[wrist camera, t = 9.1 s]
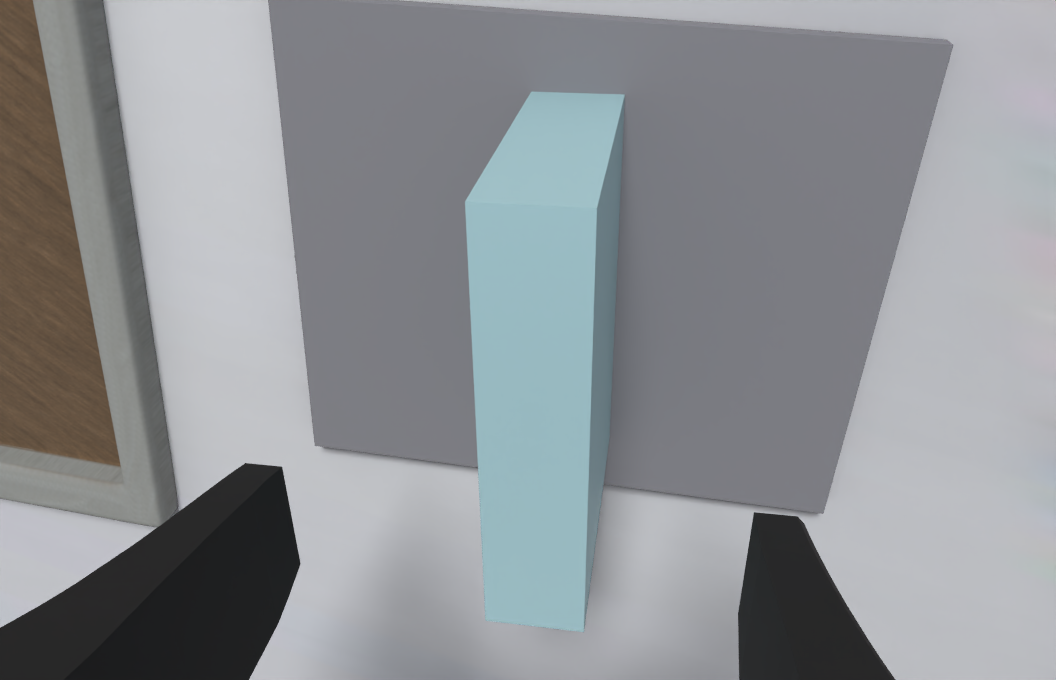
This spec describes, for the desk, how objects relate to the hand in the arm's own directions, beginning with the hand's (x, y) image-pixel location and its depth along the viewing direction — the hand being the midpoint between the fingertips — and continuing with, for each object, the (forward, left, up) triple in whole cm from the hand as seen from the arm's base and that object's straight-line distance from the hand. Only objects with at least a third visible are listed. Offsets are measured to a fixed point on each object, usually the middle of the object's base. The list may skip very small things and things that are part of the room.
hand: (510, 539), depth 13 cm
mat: (0, 0, -9) cm, 9 cm away
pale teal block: (0, 0, -9) cm, 9 cm away
